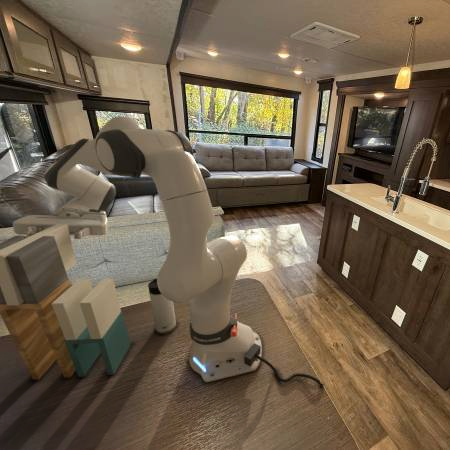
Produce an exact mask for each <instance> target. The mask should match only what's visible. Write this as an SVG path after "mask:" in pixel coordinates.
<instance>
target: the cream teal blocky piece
mask: <svg viewBox="0 0 450 450" xmlns="http://www.w3.org/2000/svg"><path fill="white" fill-rule="evenodd" d="M52 306H53V309H54V311H55V314H56V316H57V319H58V321H59V324H60V327H61V329H62V332H63V334H64V337H65V340H64V341H65V344H66V346H67V349H68V351H69V354H70V356H71V359H72V361H73V364H74V366H75V369H76V370H75V372H76V374H77V376H78V377H85V376H86V375H87V373H88V372H89V370H90V369H91V368H92V366H93V365H94V363H95V361H96V360H97V359H98V358H99V356H100V355H101V356H102V360H103V363H104V366H105V369H106V372H107V373H106V374H107V375H109V376H110V375H115V373H116V372H117V370H118V368H119V366H120V365H121V363H122V361H123V360H124V358H125V356H126V355H127V353H128V351H129V349H130V347H131V346H132V345H131V344H132V343H131V340H130V337H129V331H128V328H127V324H126V321H125V316H124V312H123V311H122V309H121V305H120V302H119V298H118V293H117V290H116V285H115V281H114V278H111V277H110V278H109V277H108V278H107V277H105V278H102V279H101V280H100V282H98V283H97V285H95V286H94V287H93V285H92V283H91V280H90V278H79V279H77V280H76V281H75V282H74V283H72V286H71V287H70V288H69V289H67V290H66V291H65V292H64V293H63V294H62V295H61V296H60V297H58V298H57V299H56V300H55V301H54V302H53V303H52Z"/></svg>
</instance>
